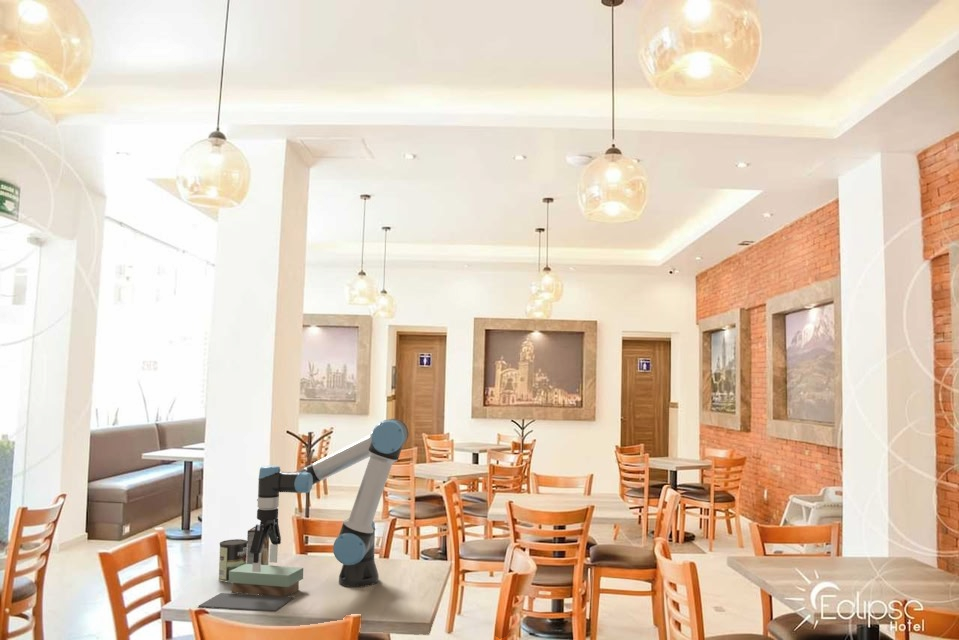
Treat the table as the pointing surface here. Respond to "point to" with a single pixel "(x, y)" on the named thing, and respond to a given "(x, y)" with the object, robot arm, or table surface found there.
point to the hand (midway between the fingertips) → (265, 566)
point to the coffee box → (264, 548)
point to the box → (264, 589)
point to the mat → (247, 602)
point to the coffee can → (231, 556)
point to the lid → (266, 575)
